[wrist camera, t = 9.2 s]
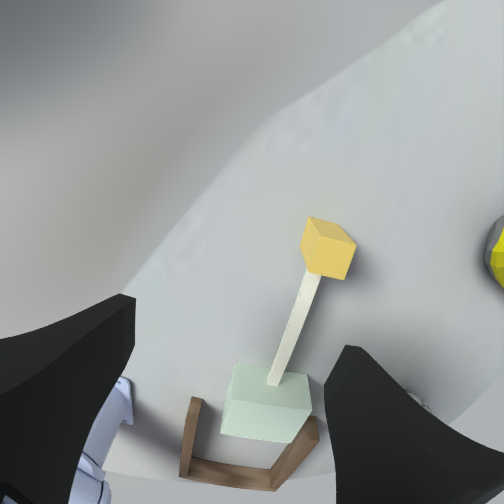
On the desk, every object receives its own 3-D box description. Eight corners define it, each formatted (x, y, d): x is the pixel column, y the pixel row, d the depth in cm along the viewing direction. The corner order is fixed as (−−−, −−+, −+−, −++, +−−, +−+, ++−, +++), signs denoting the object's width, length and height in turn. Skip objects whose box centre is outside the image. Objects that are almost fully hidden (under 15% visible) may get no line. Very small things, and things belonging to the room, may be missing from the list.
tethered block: (225, 399, 24) (219, 433, 20) (277, 208, 17) (280, 225, 14) (288, 409, 24) (290, 443, 20) (365, 232, 18) (389, 254, 14)
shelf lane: (183, 458, 28) (178, 476, 26) (191, 396, 24) (185, 421, 21) (275, 473, 29) (275, 491, 26) (315, 416, 24) (319, 440, 21)
